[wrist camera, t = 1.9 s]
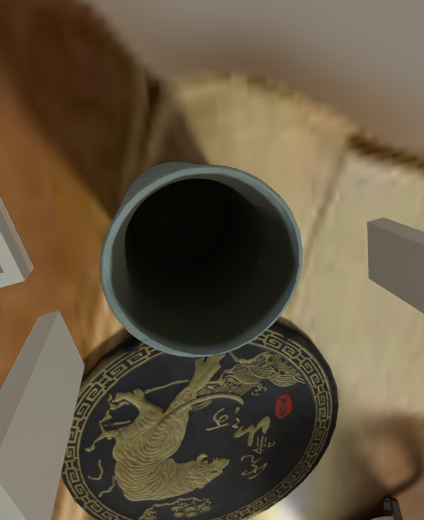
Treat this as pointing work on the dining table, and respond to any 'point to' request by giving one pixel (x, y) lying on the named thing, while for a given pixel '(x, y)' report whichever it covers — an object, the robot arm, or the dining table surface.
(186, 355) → the teal cup
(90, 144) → the dining table surface
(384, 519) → the coffee press
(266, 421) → the decorative plate
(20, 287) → the dining table surface
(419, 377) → the dining table surface
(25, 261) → the tray
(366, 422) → the dining table surface
